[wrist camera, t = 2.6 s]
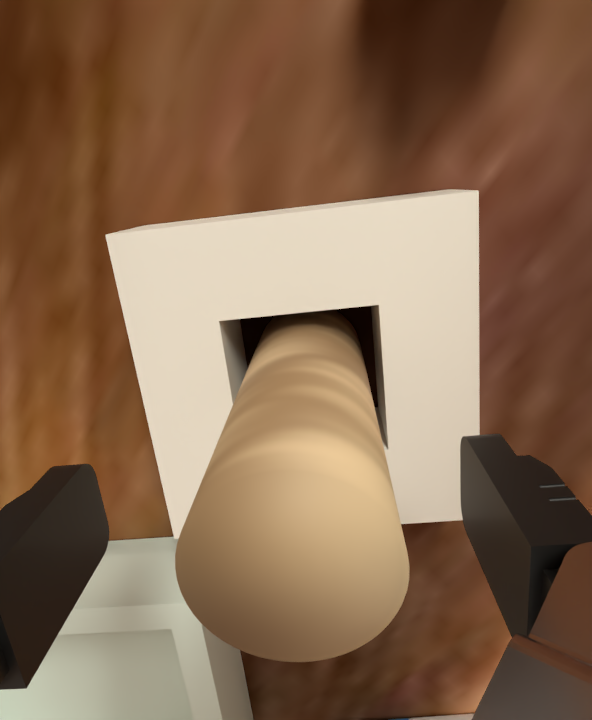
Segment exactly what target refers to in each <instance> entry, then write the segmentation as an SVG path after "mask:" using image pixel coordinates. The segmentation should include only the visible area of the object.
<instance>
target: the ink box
mask: <svg viewBox="0 0 592 720" xmlns="http://www.w3.org/2000/svg"><path fill="white" fill-rule="evenodd" d="M474 714H475V713H471V714H458V715H445V716H431V717H417V718H404V719H390V720H472V718H473V716H474Z"/></svg>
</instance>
